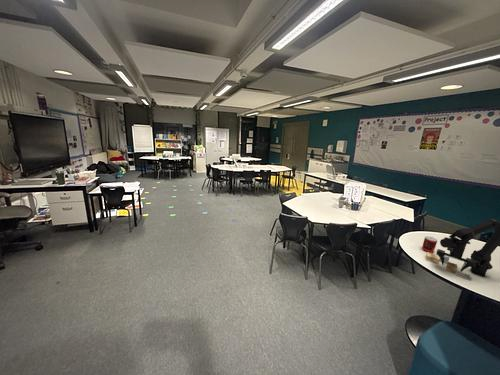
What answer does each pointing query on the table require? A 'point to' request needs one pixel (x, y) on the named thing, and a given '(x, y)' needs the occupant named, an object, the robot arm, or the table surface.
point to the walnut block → (451, 267)
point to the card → (463, 275)
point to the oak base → (432, 258)
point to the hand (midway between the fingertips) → (451, 268)
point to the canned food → (429, 244)
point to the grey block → (445, 259)
